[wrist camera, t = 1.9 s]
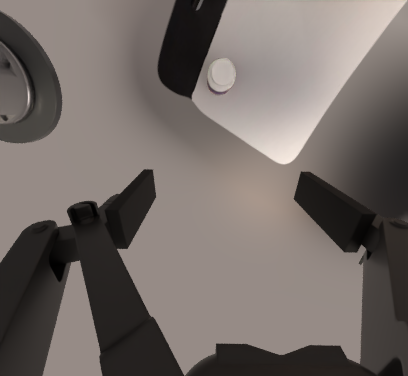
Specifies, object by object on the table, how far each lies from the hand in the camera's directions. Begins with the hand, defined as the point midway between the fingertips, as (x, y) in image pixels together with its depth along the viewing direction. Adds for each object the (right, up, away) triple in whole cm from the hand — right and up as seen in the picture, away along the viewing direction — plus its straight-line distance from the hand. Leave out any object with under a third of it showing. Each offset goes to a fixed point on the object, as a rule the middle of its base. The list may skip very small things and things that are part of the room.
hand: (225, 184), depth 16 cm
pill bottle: (+1, +20, +18) cm, 27 cm away
